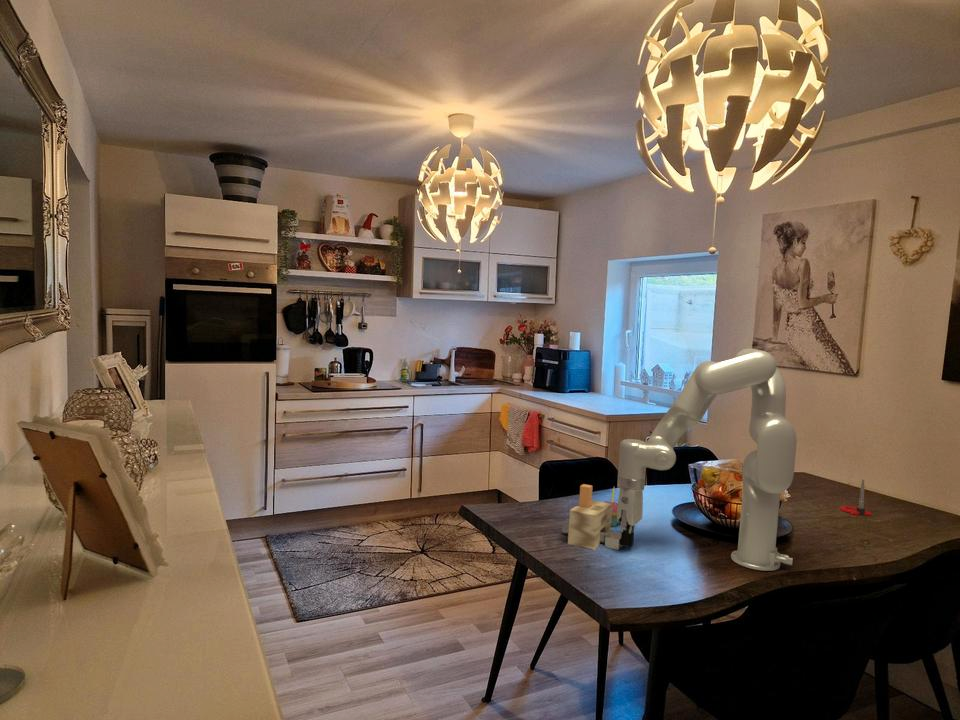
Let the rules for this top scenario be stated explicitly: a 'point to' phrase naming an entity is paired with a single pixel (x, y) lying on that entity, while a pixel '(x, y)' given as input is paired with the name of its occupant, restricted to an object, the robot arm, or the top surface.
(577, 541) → the block
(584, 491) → the plunger
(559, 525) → the top surface
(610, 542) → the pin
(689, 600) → the top surface
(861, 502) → the grey spike red base
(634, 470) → the robot arm
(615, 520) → the cupcake
